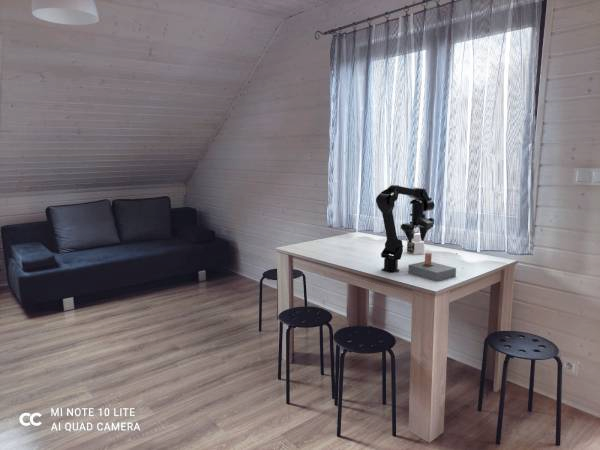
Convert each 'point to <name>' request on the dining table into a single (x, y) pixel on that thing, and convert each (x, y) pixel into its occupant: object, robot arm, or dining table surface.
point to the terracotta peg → (428, 259)
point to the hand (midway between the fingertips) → (416, 241)
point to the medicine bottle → (415, 244)
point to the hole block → (432, 271)
